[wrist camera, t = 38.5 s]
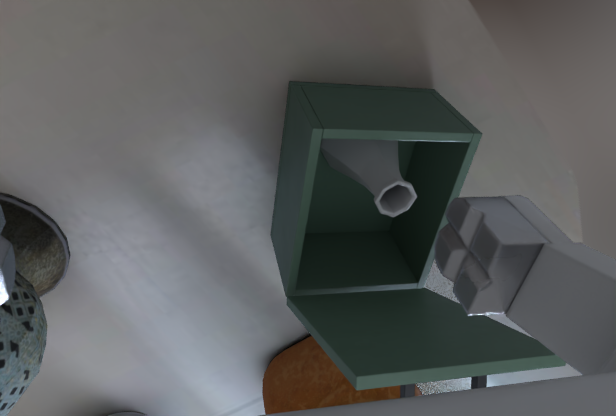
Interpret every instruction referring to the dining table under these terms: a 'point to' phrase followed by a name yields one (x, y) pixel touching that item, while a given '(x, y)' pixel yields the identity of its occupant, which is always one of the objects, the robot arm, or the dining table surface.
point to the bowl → (127, 414)
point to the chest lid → (414, 339)
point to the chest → (357, 198)
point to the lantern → (27, 294)
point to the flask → (372, 170)
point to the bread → (313, 382)
